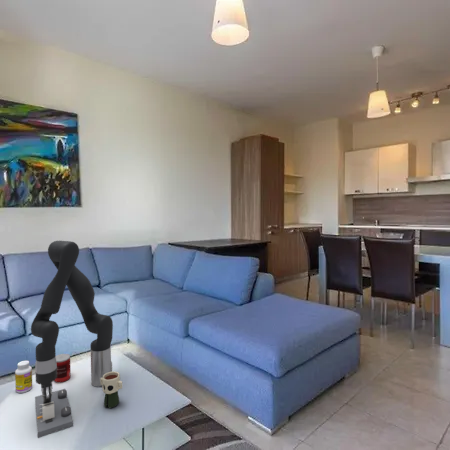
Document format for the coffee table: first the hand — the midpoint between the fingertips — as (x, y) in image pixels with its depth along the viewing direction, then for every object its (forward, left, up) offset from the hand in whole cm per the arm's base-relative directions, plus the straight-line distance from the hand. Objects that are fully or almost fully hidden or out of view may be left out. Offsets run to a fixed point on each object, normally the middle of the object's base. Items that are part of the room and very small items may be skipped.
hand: (47, 409), depth 132 cm
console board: (-2, -2, -3) cm, 4 cm away
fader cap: (0, +4, 0) cm, 5 cm away
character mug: (-24, +5, -3) cm, 25 cm away
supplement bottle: (+8, -28, -3) cm, 29 cm away
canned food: (-8, -29, -3) cm, 30 cm away
